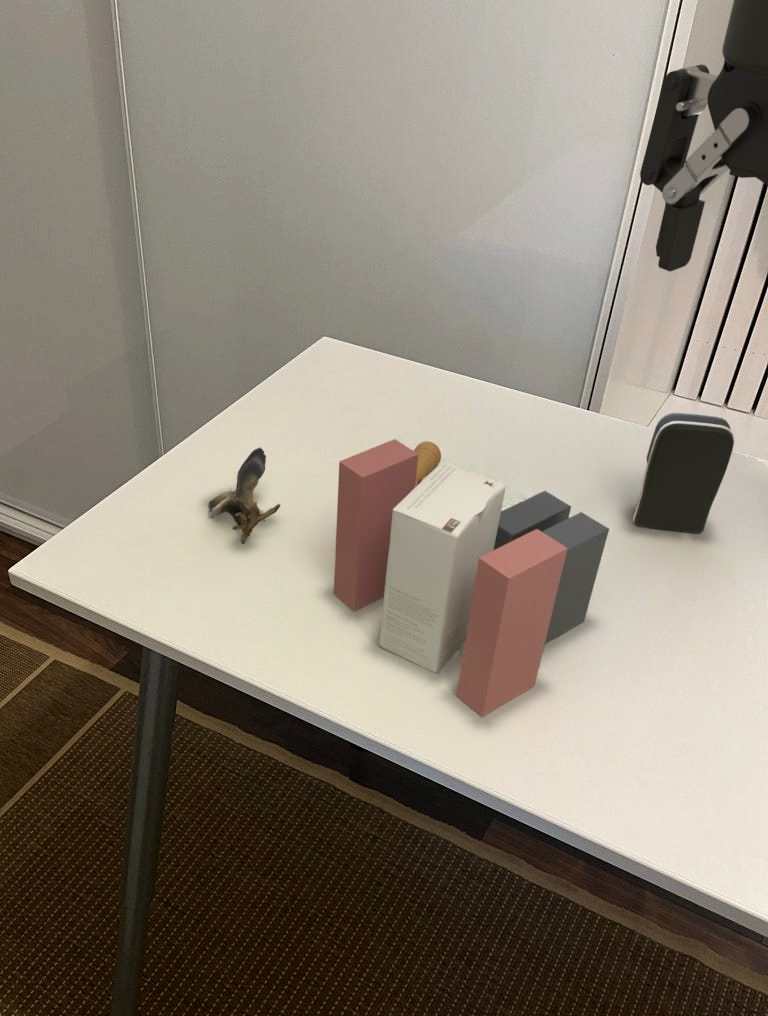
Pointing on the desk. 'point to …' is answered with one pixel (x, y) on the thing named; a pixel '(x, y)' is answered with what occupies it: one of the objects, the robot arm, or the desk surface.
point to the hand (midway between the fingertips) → (733, 288)
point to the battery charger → (683, 471)
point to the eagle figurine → (244, 496)
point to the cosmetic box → (437, 562)
